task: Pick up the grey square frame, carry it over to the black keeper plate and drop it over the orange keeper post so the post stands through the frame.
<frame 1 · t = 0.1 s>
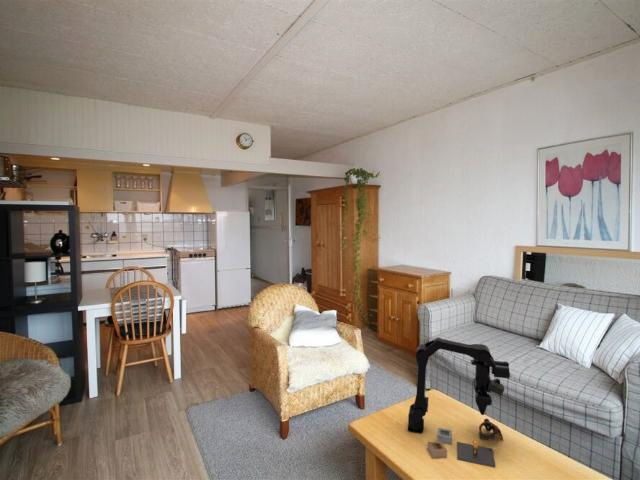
hand: (481, 409, 155), 15 cm above the table, fingers open, 9 cm apart
grey square frame: (444, 439, 157), on the table
keeper: (475, 455, 147), on the table
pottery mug: (490, 437, 158), on the table
brown hollow square block: (436, 452, 149), on the table
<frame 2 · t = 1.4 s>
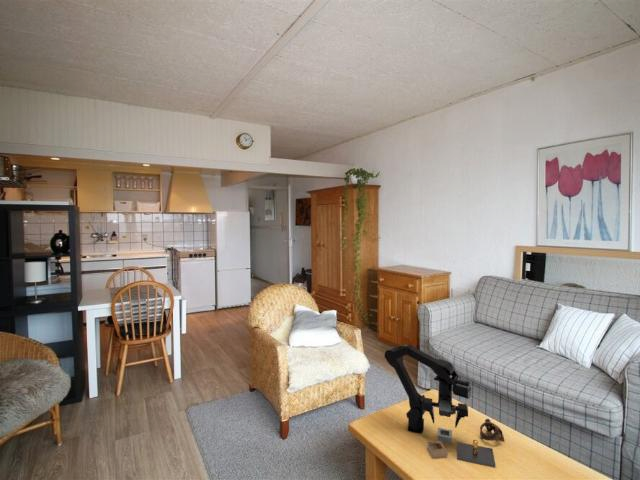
hand: (444, 425, 157), 7 cm above the table, fingers open, 9 cm apart
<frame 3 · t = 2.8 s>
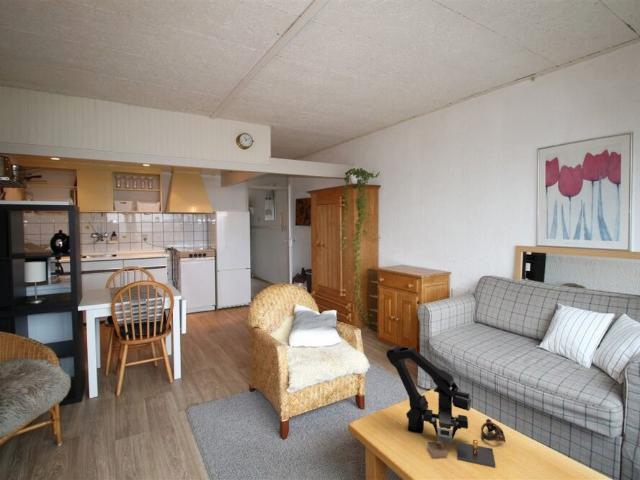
hand: (444, 436, 157), 1 cm above the table, fingers closed on grey square frame, 6 cm apart
grey square frame: (444, 439, 157), on the table, touching gripper
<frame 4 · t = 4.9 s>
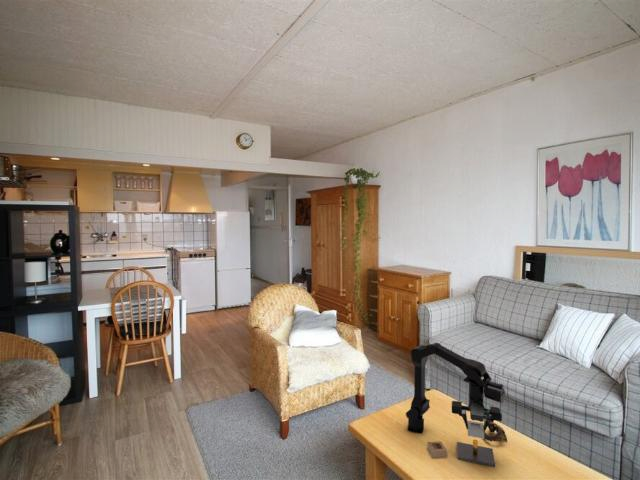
hand: (475, 430, 146), 11 cm above the table, fingers closed on grey square frame, 6 cm apart
grey square frame: (475, 432, 146), point 10 cm above the table, touching gripper
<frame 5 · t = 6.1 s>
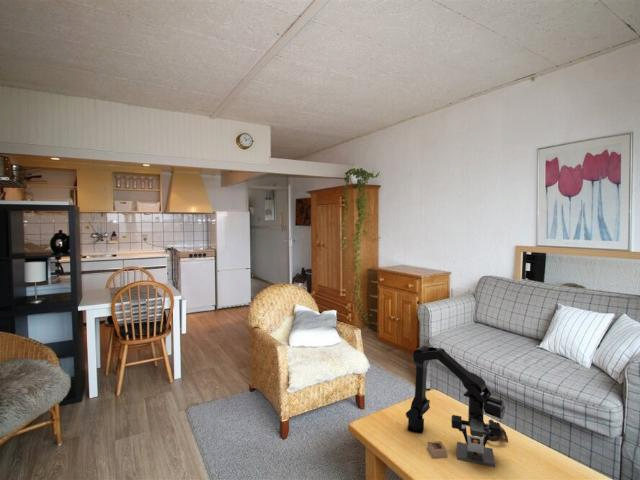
hand: (475, 444, 147), 5 cm above the table, fingers closed on grey square frame, 6 cm apart
grey square frame: (475, 447, 147), point 3 cm above the table, touching gripper
when the fingers open (4 cm above the table, at t = 6.8 s): grey square frame drops 2 cm, resting on keeper.
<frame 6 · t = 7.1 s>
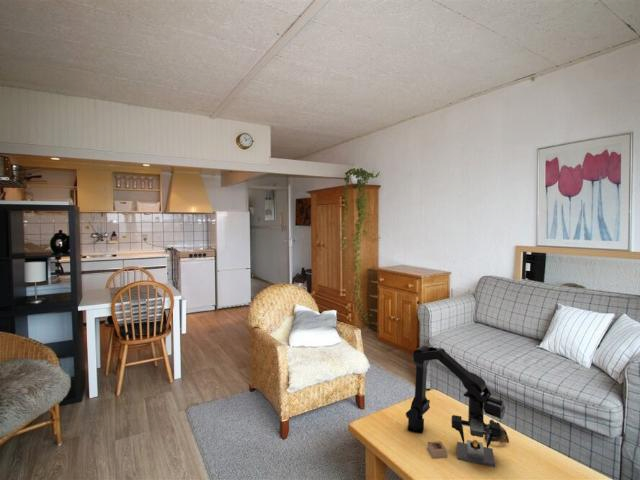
hand: (475, 445, 147), 4 cm above the table, fingers open, 9 cm apart
grey square frame: (475, 452, 147), point 1 cm above the table, touching keeper
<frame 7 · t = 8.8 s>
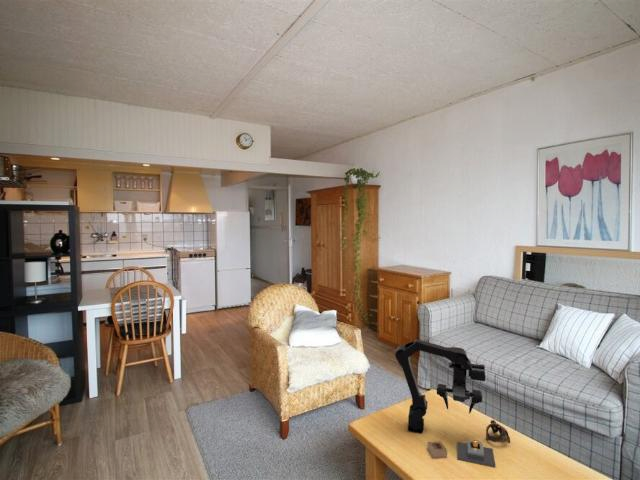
hand: (458, 410, 159), 12 cm above the table, fingers open, 9 cm apart
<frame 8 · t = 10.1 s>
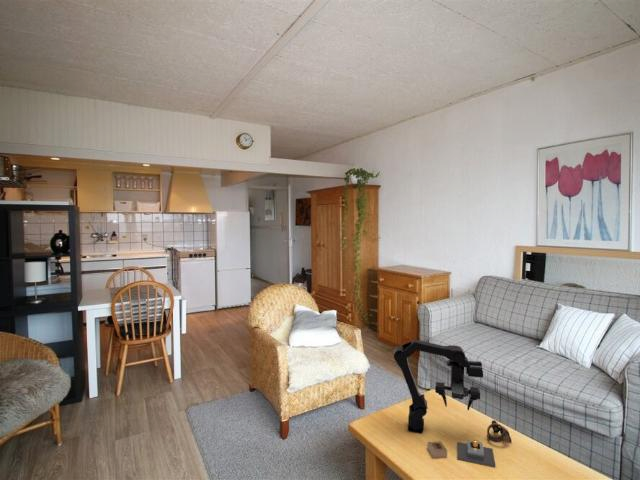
hand: (456, 408, 160), 12 cm above the table, fingers open, 9 cm apart
at the end: grey square frame 0.0 cm off-centre on the keeper, point 1.2 cm above the keeper's base; the gripper is holding nothing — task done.
